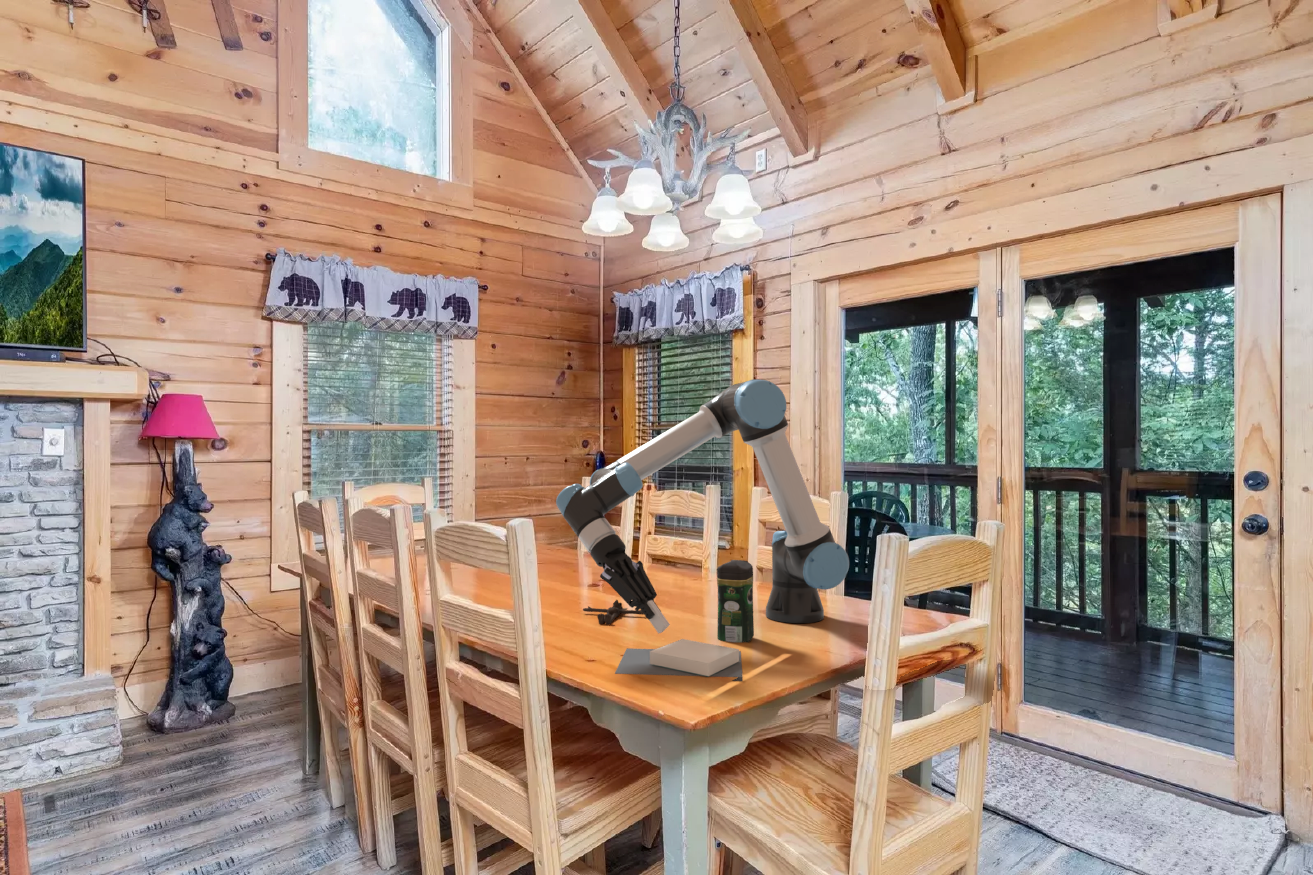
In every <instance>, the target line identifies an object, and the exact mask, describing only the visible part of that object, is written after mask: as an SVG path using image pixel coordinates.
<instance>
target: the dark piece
mask: <svg viewBox="0 0 1313 875" xmlns="http://www.w3.org/2000/svg"><path fill="white" fill-rule="evenodd" d="M582 611H584V612H587V613H593V612H594V613H598V614H597V615H596V616H597V619H598V620H597V621H598V625H599V624H600V625H604V623H605V625H611V624H612V623H613V621H614V620H615V619H616V618H618V617H619V615H621V614H622V615H623V614H624V615H629V614H630V615H644V613H643V612H642V611H641V609H639V610H638V611H636V610H635V609H634V610H633V609H630V610H629V609H628V607H623V603H622V602H619V599H615V601H614V602H613V604H612V606H610V607H608V609H607V608H597V607H596V608H593V607H591V606H588V605H587V607H584V608H583V609H582ZM620 613H621V614H620ZM644 616H645V615H644ZM615 617H616V618H615Z"/></svg>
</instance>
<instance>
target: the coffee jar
mask: <svg viewBox="0 0 1313 875" xmlns="http://www.w3.org/2000/svg"><path fill="white" fill-rule="evenodd" d="M716 571H717V572H716V573H717V574H716V581H717V640H718V641H721V642H726V643H727V642H728V643H737V644H741V643H749V642H751V641H752V640H753V638H754V635H755V633H754V632H755V629H754V628H755V627H754V624H755V623H754V568H753V564H751V563H750V562H749V561H747V560H744V559H743V560H740V559H731V560H730V561H728V562H725V563H722V564H721V565H719V566H718V567H717V568H716Z"/></svg>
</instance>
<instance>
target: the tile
mask: <svg viewBox="0 0 1313 875" xmlns="http://www.w3.org/2000/svg"><path fill="white" fill-rule="evenodd" d="M654 649H655V650H652V651H650V664H653V665H655V666H659V667H664V668H669V669H673V670H678V671H683V672H688V673H692V674H697V675H702V676H701V677H706V678H708V677H712V676H711V675H713V674H715V673H717V672H719V671H721V670H723V669H725V668H727V667H729V666H731V665H733V664H735V663H737V662H739V651H740V649H739V648H734V647H728V646H722V645H718V644H711V643H706V642H702V641H701V642H700V641H696V640H690V639H685V638H680V639H679V640H676V641H673V642H670V643H668V644H666V645H664V646H660V647H658V648H654Z"/></svg>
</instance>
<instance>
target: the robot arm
mask: <svg viewBox="0 0 1313 875" xmlns="http://www.w3.org/2000/svg"><path fill="white" fill-rule="evenodd" d="M786 411H787V399H786V397H785V394H784V393H783V390H782V389H781V388H780V387H779V386H778V385H777V384H775V383H774V382H771V381H770V380H766V379H756V378H755V379H750V380H747V381H743V382H739V383H734V384H733V385H730V386H728V387H727V388H726V389H724V390H723V391H721V392H720V393H718V394H717V395H716V396H714V397H713V398H711V399H710V400H708V401H707V402H705V403H703V404H702V405H700V407H699V410H698V412H697V413H694V414H693V415H691V416H690V417H688V418H686V419H684V420H683V421H681V422H680V423H677V424H676V425H674V426H673V427H671V428H669V429H667V430H666V431H664V432H662V433H661V434H659V435H657V436H656V437H653V439H651V440H649V441H647V442H646V443H644V444H642V445H640V446H639V447H637V448H635V449H633V450H632V451H630V452H629V453H627V454H625V455H623V456H622V457H620V458H618V459H617V460H615V461H614V462H612V463H610V464H609V465H607V466H605V467H601V468H599V469H597V470H595V471H594V472H593V473H592V474H591V475H590V478H589V485H588V486H586V487H584V486H582V485H581V484H580V483H574V484H572V485H568V486H566V487H564V488H563V489H562V490H561V491H560V492H559V493H558V495H557V497H556V500H555V506H556V507H557V509H558V510H559V512H560V513H561V515H562V517H563V519H564V520H565V521H566V523H568V525H569V526H570V528H571V529H572V531H573V532H574V534H576V537H577V538H578V539H579V540H580V542H581V543H582V544H583V546H584V547H585V549H586V550H587V552H589V553H590V557H591V558H592V559H593V560H594V562H595V563H596V565H597V566H598V567H600V568H602V569H603V571H602V573H601V574H600V575H599V577H600V579H602V580H603V581H605V582H606V583H607V584H609V585H610V587H611V588H612V589H613V590H614V591H615V593H617V594H618V595H619V597H621V598H622V599H623V601H625V603H626V604H627V605H628V606H629V607H630V608H632V609H634V610H635V611H638V610H641V611H642V612H643V613H644V616H645V617H646V619H647V620H649V623H650V624H651V625H652V626H653V628H654V629H655V631H656V632H657V634H661V633H663V632H664V631H665V630H667V629H668V627H669V626H670V625H671V624H670V622H669V621H668V619H667V618H666V617H665V616H664V614H663V613H662V610H661V608H660V607H659V606H658V604H656V602H655V599H656V598H657V596H658V595H657V592H656V590H655V588H654V586H653V583H652V581H651V580H650V578H649V576H648V574H647V573H646V571H645V568H644V564H643V562H642V561H641V560H638V561H637V562H635V561H633V559H632V558H631V557H630V556H629V555H628V554H627V553H626V548H627V547H626V544H625V543H624V542H623V540H622V539H621V537H620V536H619V534H617V532H616V530H615V529H614V528H613V526H612V525H611V524H610V522H609V521H608V519H607V518H606V517H605V516H604V515H606V514H607V513H608V512H610V511H612V509H615V507H617V506H619V505H621V503H624V502H625V501H626V500H628V499H629V498H631V497H633V496H634V495H635V494H636V493H638V492H639V491H640V490H642V488H643V487H644V486H643V480H645V479H646V478H648V477H650V476H651V475H653V474H654V473H657V471H659V470H661V469H663V468H664V467H667V466H668V465H670V464H671V463H673V462H674V461H676V460H678V459H680V458H682V457H683V456H684V455H687V454H689V453H690V452H692V451H693V450H694V449H697V448H698V447H700V446H701V445H703V444H704V443H705V444H706V442H708V441H710V440H711V439H713V438H717V439H721V438H723V437H724V436H726V435H728V434H730V433H732V432H735V431H738V432H739V434H740V436H741V439H742V441H743V443H744V444H746V445H748V446H751V448H752V450H753V452H754V455H755V457H756V460H757V461H758V465H759V467H760V470H761V471H762V475H763V477H764V480H765V482H766V484H767V486H768V489H769V492H770V494H771V497H772V499H773V502H774V504H775V507H776V509H777V511H778V514H779V517H780V519H781V521H782V524H783V527H784V529H785V530H777V531H775V532H773V534H772V542H771V547H772V548H771V552H772V553H771V554H772V555H771V556H772V559H771V560H772V563H771V564H772V566H771V567H772V572H771V574H772V585H771V586H772V587H771V591H770V594H769V597H768V599H767V603H766V605H765V606H766V607H765V616H766V618H768V619H770V620H772V621H776V622H781V623H791V624H811V623H816V622H817V623H818V622H821V621H823V620H824V618H825V612H824V611H825V610H824V607H823V603H822V600H821V597H820V594H819V593H820V592H819V591H818V589H819V590H823V591H824V590H831V589H834V588H835V587H837V586H839V585H840V584H841V583H842V582H843V581H844V580H845V578H846V577H847V574H848V573H849V572H848V571H849V568H850V558H849V555H848V553H847V551H846V550H845V548H844V547H842V545H841V544H839V543H837V542H836V540H835V538H834V536H833V533H832V531H831V528H830V526H829V525H827V524H825V523H823V522H821V521H820V518H819V516H818V513H817V511H816V510H817V509H816V508H815V504H814V503H813V500H812V498H811V495H810V493H809V490H808V488H807V486H806V483H805V480H804V478H803V475H802V473H801V470H800V468H799V466H798V465H799V464H798V463H797V460H796V458H795V454H794V453H793V450H792V448H791V445H790V443H789V441H788V437H787V434H786V431H787V429H788V427H789V423H788V421H787V418H786V415H785V414H786Z"/></svg>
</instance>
